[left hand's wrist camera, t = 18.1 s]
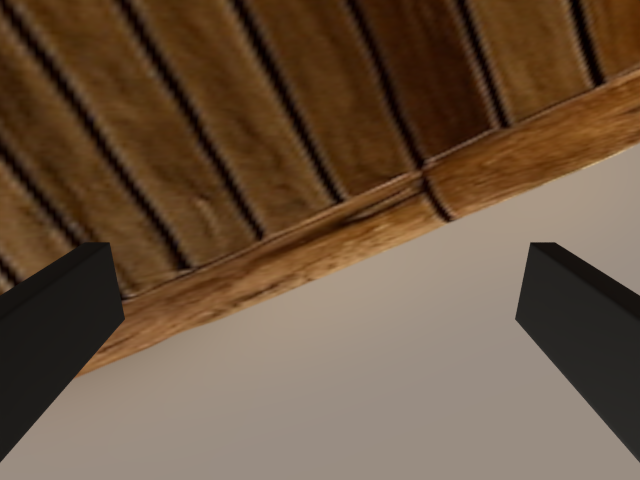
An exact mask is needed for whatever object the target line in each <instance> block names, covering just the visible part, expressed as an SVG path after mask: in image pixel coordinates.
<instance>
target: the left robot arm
mask: <svg viewBox="0 0 640 480" xmlns="http://www.w3.org/2000/svg"><path fill="white" fill-rule="evenodd" d="M124 320H125V317H124V312H123V307H122V302H121V297H120V292H119V287H118V282H117V277H116V272H115V267H114V262H113V257H112V252H111V247H110V242H85V243H83V244H82V245H80V246H79V247H77V248H75V249H74V250H72V251H71V252H69V253H67V254H66V255H64V256H63V257H61V258H59V259H58V260H56V261H55V262H53V263H52V264H50V265H48V266H47V267H45V268H44V269H42V270H40V271H39V272H37V273H36V274H34V275H32V276H31V277H29V278H28V279H26V280H24V281H23V282H21V283H20V284H18V285H17V286H15V287H13V288H12V289H10V290H9V291H7V292H5V293H4V294H2V295H1V296H0V462H1V461H2V460H3V459H4V458H5V456H6V455H7V454H8V453H9V452H10V451H11V450H12V448H13V447H14V446H15V445H16V444H17V443H18V441H19V440H20V439H21V438H22V437H23V436H24V435H25V433H26V432H27V431H28V430H29V429H30V428H31V427H32V425H33V424H34V423H35V422H36V421H37V420H38V418H39V417H40V416H41V415H42V414H43V413H44V412H45V410H46V409H47V408H48V407H49V406H50V405H51V403H52V402H53V401H54V400H55V399H56V398H57V397H58V395H59V394H60V393H61V392H62V391H63V390H64V389H65V387H66V386H67V385H68V384H69V383H70V382H71V381H72V379H73V378H74V377H75V376H76V375H77V374H78V372H79V371H80V370H81V369H82V368H83V367H84V366H85V364H86V363H87V362H88V361H89V360H90V359H91V358H92V356H93V355H94V354H95V353H96V352H97V351H98V349H99V348H100V347H101V346H102V345H103V344H104V343H105V341H106V340H107V339H108V338H109V337H110V336H111V335H112V333H113V332H114V331H115V330H116V329H117V328H118V326H119V325H120V324H121V323H122V322H123V321H124ZM515 320H516V321H517V322H518V323H519V324H520V325H521V326H522V328H523V329H524V330H525V331H526V332H527V333H528V335H529V336H530V337H531V338H532V339H533V340H534V341H535V343H536V344H537V345H538V346H539V347H540V348H541V349H542V351H543V352H544V353H545V354H546V355H547V356H548V358H549V359H550V360H551V361H552V362H553V363H554V364H555V366H556V367H557V368H558V369H559V370H560V371H561V372H562V374H563V375H564V376H565V377H566V378H567V379H568V381H569V382H570V383H571V384H572V385H573V386H574V387H575V389H576V390H577V391H578V392H579V393H580V394H581V395H582V397H583V398H584V399H585V400H586V401H587V402H588V404H589V405H590V406H591V407H592V408H593V409H594V410H595V412H596V413H597V414H598V415H599V416H600V417H601V418H602V420H603V421H604V422H605V423H606V424H607V425H608V427H609V428H610V429H611V430H612V431H613V432H614V433H615V435H616V436H617V437H618V438H619V439H620V440H621V441H622V443H623V444H624V445H625V446H626V447H627V448H628V450H629V451H630V452H631V453H632V454H633V455H634V456H635V458H636V459H637V460H638V461H639V462H640V296H639V295H638V294H636V293H635V292H633V291H631V290H630V289H628V288H627V287H625V286H623V285H622V284H620V283H619V282H617V281H615V280H614V279H612V278H611V277H609V276H608V275H606V274H604V273H603V272H601V271H600V270H598V269H596V268H595V267H593V266H592V265H590V264H588V263H587V262H585V261H584V260H582V259H581V258H579V257H577V256H576V255H574V254H573V253H571V252H569V251H568V250H566V249H565V248H563V247H561V246H560V245H558V244H557V243H555V242H549V243H548V242H544V243H543V242H542V243H541V242H538V243H537V242H536V243H535V242H531V243H530V247H529V252H528V258H527V262H526V267H525V273H524V278H523V282H522V287H521V292H520V297H519V303H518V308H517V312H516V318H515Z"/></svg>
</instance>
